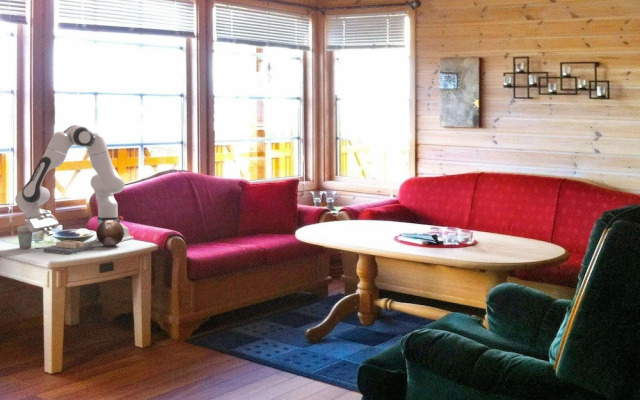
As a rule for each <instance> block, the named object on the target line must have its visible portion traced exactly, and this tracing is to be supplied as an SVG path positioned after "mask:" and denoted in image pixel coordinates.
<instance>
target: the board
mask: <svg viewBox="0 0 640 400" xmlns="http://www.w3.org/2000/svg"><path fill="white" fill-rule="evenodd" d="M42 249H43V252H44V253H51V252H59V253H58V254H60V253H67V254H66V255H70V254H71V255H73V254H72V253H75V254H77V252H79V253H82V252H85V251H90V250H92V249H93V245H89V244H84V246H83V247H80V248H76V249H71V248H60V247H56V244H55V245H50V246H47V247H43V248H42Z"/></svg>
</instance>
